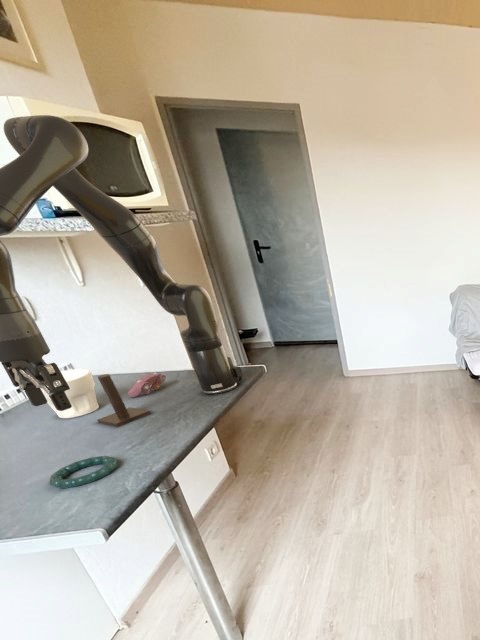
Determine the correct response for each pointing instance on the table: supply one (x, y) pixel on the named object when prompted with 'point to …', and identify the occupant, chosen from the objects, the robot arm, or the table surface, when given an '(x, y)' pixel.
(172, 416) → the table surface
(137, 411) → the post
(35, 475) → the table surface
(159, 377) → the pink oval lump
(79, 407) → the cup
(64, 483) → the ring
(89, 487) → the table surface
